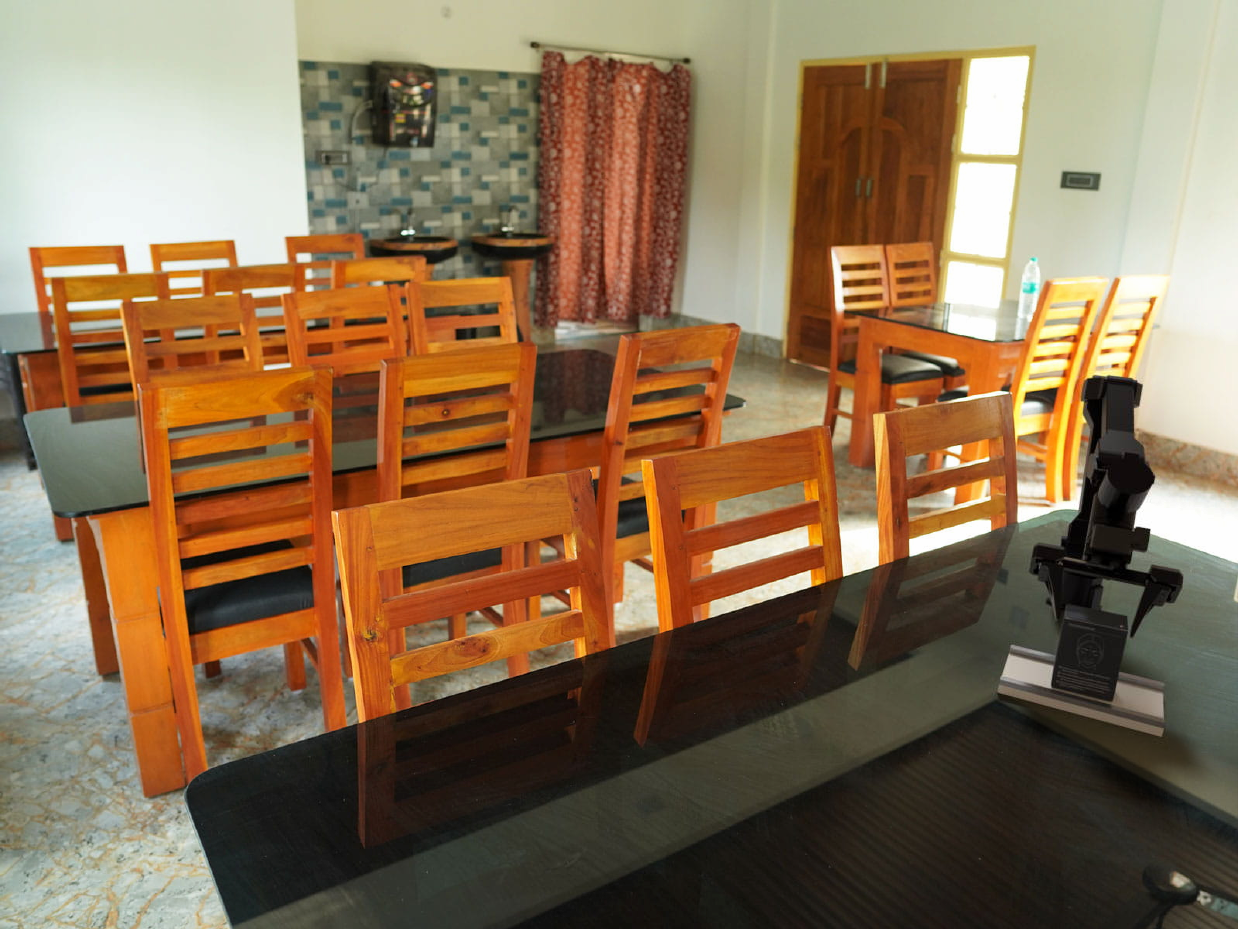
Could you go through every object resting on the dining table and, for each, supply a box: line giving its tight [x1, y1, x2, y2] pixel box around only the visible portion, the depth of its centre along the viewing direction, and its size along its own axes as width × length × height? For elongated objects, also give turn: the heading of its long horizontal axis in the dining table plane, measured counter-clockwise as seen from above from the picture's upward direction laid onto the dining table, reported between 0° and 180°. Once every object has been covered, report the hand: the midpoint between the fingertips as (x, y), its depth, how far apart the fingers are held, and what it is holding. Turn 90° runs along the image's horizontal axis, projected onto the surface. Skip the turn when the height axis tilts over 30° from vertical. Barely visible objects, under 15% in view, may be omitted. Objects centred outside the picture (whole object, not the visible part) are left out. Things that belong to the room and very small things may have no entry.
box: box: [1051, 604, 1129, 701], centre depth 135 cm, size 8×6×11 cm
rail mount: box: [997, 644, 1166, 738], centre depth 137 cm, size 20×12×2 cm, turn 63°
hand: (1094, 628), depth 135 cm, fingers open, 9 cm apart
